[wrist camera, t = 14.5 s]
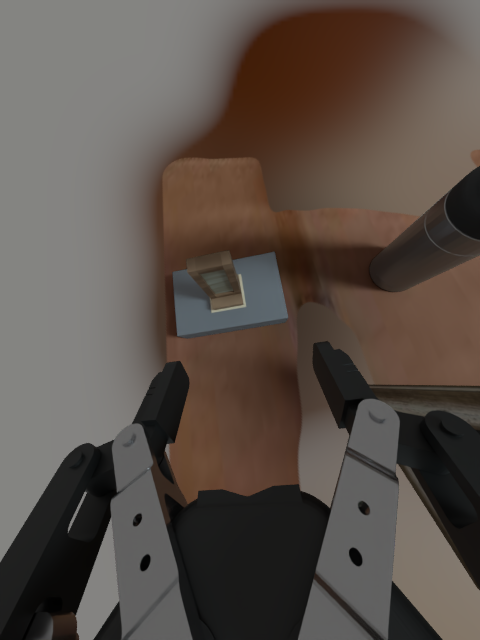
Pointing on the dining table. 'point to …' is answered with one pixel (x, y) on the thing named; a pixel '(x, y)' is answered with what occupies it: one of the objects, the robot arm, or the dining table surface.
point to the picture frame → (462, 401)
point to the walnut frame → (217, 278)
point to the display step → (257, 311)
